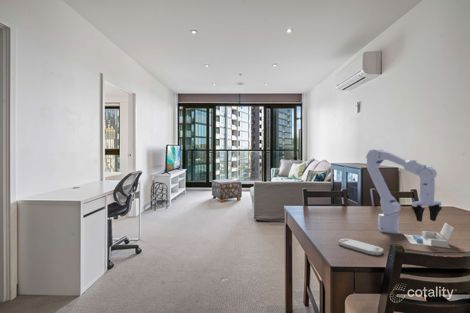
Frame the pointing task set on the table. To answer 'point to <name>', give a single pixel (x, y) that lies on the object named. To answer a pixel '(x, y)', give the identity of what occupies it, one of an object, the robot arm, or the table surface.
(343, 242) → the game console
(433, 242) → the white storage tray
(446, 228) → the cover
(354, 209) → the table surface
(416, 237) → the pale blue rectangular prism
